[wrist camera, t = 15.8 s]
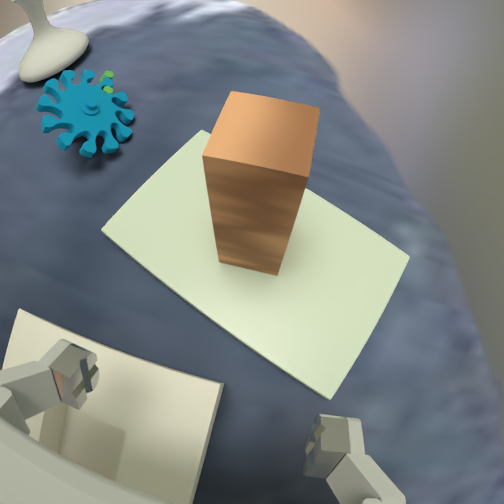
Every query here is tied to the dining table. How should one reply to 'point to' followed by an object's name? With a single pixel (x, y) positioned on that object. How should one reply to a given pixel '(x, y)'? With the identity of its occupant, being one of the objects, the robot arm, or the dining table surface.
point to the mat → (262, 284)
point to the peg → (258, 177)
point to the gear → (86, 112)
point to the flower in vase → (48, 45)
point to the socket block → (125, 415)
